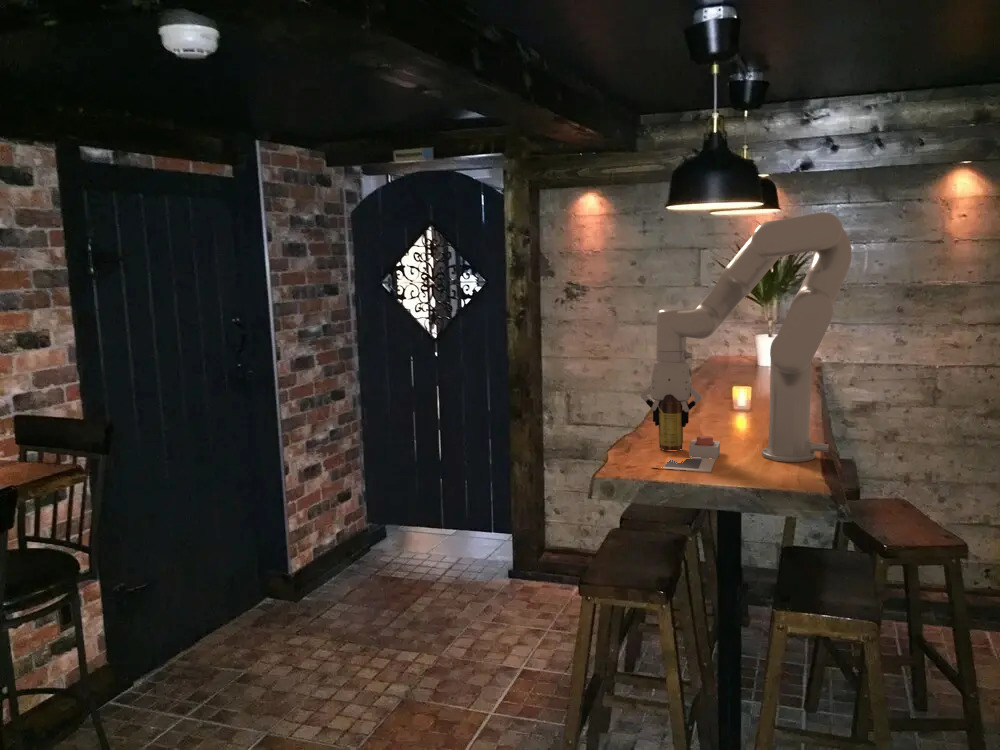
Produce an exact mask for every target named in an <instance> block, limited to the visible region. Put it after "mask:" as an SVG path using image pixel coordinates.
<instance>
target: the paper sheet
mask: <svg viewBox="0 0 1000 750" xmlns="http://www.w3.org/2000/svg"><path fill="white" fill-rule="evenodd" d="M691 458H692V457H691ZM691 458H690V459H686V460H685V461H684V462H683V461H682V462H683V463H682V462H681V463H677V462H676V463H677V464H676V463H675V461H674V463H673V460H672V462H671V460H670V461H669V462H667V464H665V466H664V467H663V468H665V469H676V470H675V471H680V470H686V471H685V472H696V473H699V472H700V473H712V470H713V468H714V464H715V462H716V459H709V458H692V459H691ZM661 468H662V467H661ZM665 469H664V470H665ZM677 469H678V470H677Z"/></svg>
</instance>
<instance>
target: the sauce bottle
mask: <svg viewBox="0 0 1000 750" xmlns="http://www.w3.org/2000/svg"><path fill="white" fill-rule="evenodd" d="M670 380H671V379H668V381H670ZM658 409H659V425H658V445H659V449H660V448H661V449H664V450H680V449H682V450H683V443H684V427H682V412H683V406H682V404H681V401H678V400H677V399H676V398H675V397H674V396H673V395H671V394H669V395H665V397H664V399H663V400H662V401H660V402H659V405H658ZM661 449H660V450H661ZM680 451H681V450H680Z"/></svg>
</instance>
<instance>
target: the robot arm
mask: <svg viewBox="0 0 1000 750" xmlns="http://www.w3.org/2000/svg"><path fill="white" fill-rule="evenodd" d="M809 252H813V256H812V259H811V263H810V266H809V267H808V270H807V272H806V275H805V277H804V279H803V281H802V283H801V285H800V288H799V290H798V291H797V293H796V295H794V297H793V299H792V301H791V303H790V307H789V309H788V311H787V313H786V315H785V318H784V320H783V322H782V324H781V326H780V328H779V331H778V332H777V335H776V336H775V337H774V338H773V340H772V342H771V345H770V349H769V350H770V351H769V355H770V374H769V376H770V377H769V404H768V405H769V407H768V409H769V410H768V440H767V441H768V447H767V446H766V447H764V448H762V450H761V456H763V457H764V458H765V459H769V460H773V461H777V462H786V463H788V462H789V463H801V462H804V463H805V462H810V461H812V460H814V459H816V453H815V452H820V453H829V451H830V449H829V448H830V447H829V444H828V443H823V442H814V441H811V436H810V422H811V421H810V420H811V419H810V418H811V416H810V415H811V396H812V393H811V391H812V364H813V363H812V362H813V358H814V357H815V355H816V353H817V351H818V348H819V347H820V345H821V343H822V340H823V339H824V337H825V335H826V332H828V331H827V330H828V329H829V327H830V324H831V322H832V319H833V315H834V304H835V302H836V300H837V297H838V295H839V294H840V291H841V289H842V287H843V284H844V281H845V279H846V277H847V274H848V272H849V269H850V267H851V263H852V246H851V240H850V238H849V236H848V234H847V232H846V231H845V229H844V228H843V225H842V222H841V220H840V219H839V218H838V217H837V216H836V215H835V214H833V213H830V212H826V211H825V212H824V211H821V212H820V211H819V212H814V213H811V214H805V215H800V216H795V217H788V218H783V219H777V220H769V221H766V222H763V223H761V224H759V225H758V226H757V227H756V229H755V230H754V231H753V233H752V235H751V236H750V237H749V239H748V240H747V241H746V242H745V244H744V245H742V247H741V248H740V250H739V251H738V252H737V253H736V255H735V256H734V257H733V258H732V259H731V260H730V262H729V263H728V264H727V265H726V267H724V269H723V271H722V272H721V274H720V276H719V278H718V280H717V282H716V283H715V285H713V288H711V290H710V291H709V293H708V294H707V295H706V296H705V297H704V298H703V300H702V301H701V302H700V304H699V305H698V306H697V307H696V308H695V309H692V310H691V309H690V310H685V309H683V308H662V309H660V310H658V311H657V313H656V346H655V347H656V353H655V354H656V356H655V357H656V358H655V359H656V360H655V361H654V362H653V365H652V371H651V377H650V378H651V380H650V382H651V383H650V386H649V387H648V388H646V389H645V390H644V391H643V392H642V393H641V394H640V398H641V400H642V401H644V402H645V403H646V404H647V406H648V407H649V408H650V409H651V410H652V422H653V423H654V425H655V427H657V426H658V427H659V409H658V407H659V402H660V401H662V400H663V399H664V397H665V395H669V394H671V395H673V396H674V397H675V398H676V399H677V400H678V401H681V404H682V406H683V412H682V427H683V428H685V427H686V425H687V424H689V422H690V420H689V419H690V418H689V414H690V410H692V409H693V408H694V407H695V406H696V405H697V404H698V402H701V400H702V398H703V396H702V395H701V394H700V393H699V392H698V391H697V389H695V388H694V387H693V386H692V372H691V371H692V370H691V365H690V362H689V361H687V360H688V359H692V358H693V353H692V352H689V351H687V350H688V349H687V338H691V339H696V340H697V339H698V340H699V339H700V340H702V339H708V338H709V337H711V336H712V335H713V334H714V333H715V332H716V331H717V329H718V328H719V327H720V326H721V324H722V323H723V322H724V321H725V320H726V319H727V317H728V316H729V315H730V314H731V313H732V312H733V310H734V309H735V308H736V307H737V306H738V305H739V303H740V302H741V301H742V300H743V299H744V298H745V297H747V296H748V295H749V294H750V293H751V292H752V291H753V289H754V288H755V287H756V286H757V285H758V284H759V283H760V281H761V280H762V279H763V278H764V276H765V275H766V274H767V273H768V272H769V270H771V268H772V267H773V266H774V265H775V263H776V262H777V261H778V260H779V259H780V258H781V257H785V256H792V255H793V256H794V255H798V254H804V253H809ZM668 379H671V380H670V381H668ZM649 394H650V397H651V398H650V397H649ZM692 396H693V397H694V399H693V400H691V401H690V402H688V401H689V400H690V398H691V397H692Z"/></svg>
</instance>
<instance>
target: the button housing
mask: <svg viewBox="0 0 1000 750" xmlns="http://www.w3.org/2000/svg"><path fill="white" fill-rule="evenodd" d="M719 453H720V454H721V441H720V440H713V446H703V445H697V439H691V442H689V445H688V457H689V456H692V457H701V458H712V459H715V460H719V457H718V456H720V454H719Z"/></svg>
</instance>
